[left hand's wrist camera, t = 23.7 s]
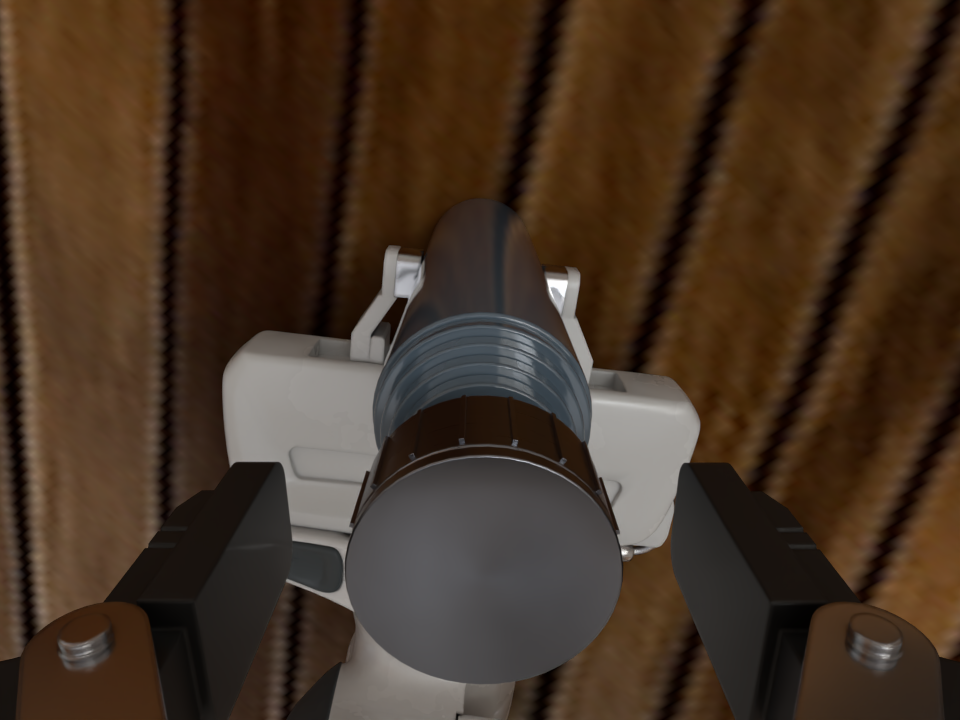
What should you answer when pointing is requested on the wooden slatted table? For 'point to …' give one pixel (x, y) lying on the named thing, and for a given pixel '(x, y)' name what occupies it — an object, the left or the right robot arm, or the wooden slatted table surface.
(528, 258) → the bottle
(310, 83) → the wooden slatted table surface
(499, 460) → the cap
